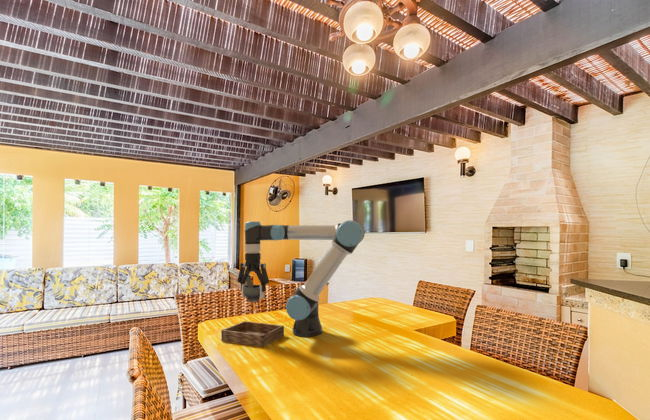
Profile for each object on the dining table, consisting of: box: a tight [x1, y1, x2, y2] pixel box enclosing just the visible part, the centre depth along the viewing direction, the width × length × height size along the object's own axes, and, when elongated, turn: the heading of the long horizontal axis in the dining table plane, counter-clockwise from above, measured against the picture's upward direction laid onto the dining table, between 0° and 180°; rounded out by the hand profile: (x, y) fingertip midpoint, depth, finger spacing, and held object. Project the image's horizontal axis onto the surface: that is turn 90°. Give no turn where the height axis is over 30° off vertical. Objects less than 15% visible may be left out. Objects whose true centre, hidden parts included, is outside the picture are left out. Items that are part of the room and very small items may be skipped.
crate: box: [220, 321, 285, 348], centre depth 172 cm, size 24×18×5 cm
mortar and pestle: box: [243, 274, 261, 303], centre depth 173 cm, size 11×9×12 cm
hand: (253, 297), depth 173 cm, fingers closed on mortar and pestle, 10 cm apart
